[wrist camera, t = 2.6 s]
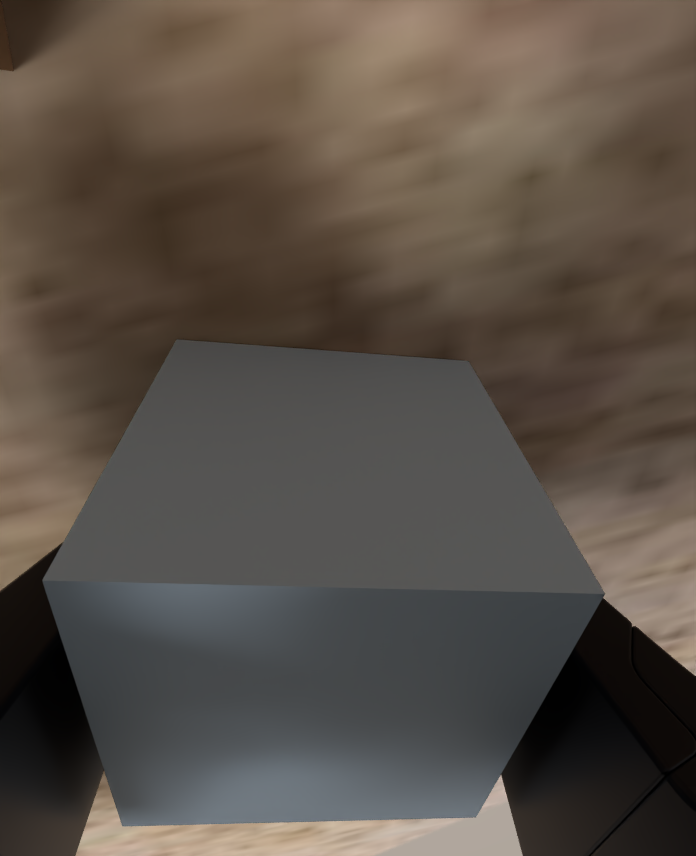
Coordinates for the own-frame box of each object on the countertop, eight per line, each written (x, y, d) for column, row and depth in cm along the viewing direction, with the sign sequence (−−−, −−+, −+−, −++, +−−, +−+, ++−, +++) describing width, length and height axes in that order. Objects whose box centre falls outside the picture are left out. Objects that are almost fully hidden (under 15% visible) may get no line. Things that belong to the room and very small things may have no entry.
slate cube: (417, 558, 12) (475, 817, 7) (194, 551, 11) (122, 826, 7) (468, 361, 9) (605, 594, 5) (176, 339, 8) (42, 580, 4)
